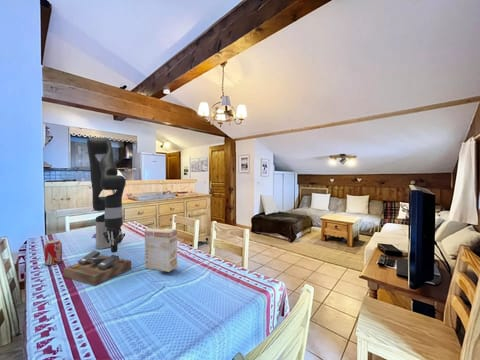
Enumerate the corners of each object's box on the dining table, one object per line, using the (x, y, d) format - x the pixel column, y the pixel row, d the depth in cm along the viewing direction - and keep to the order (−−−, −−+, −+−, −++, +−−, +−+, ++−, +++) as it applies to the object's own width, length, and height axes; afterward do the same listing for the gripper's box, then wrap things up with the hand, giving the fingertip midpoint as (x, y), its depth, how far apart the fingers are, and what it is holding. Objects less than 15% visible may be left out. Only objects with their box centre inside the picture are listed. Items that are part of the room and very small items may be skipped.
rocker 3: (113, 257, 103) (112, 254, 103) (119, 258, 102) (118, 255, 101) (97, 268, 96) (96, 265, 96) (104, 269, 95) (103, 266, 94)
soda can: (51, 266, 109) (51, 243, 109) (41, 265, 110) (40, 242, 110) (65, 261, 116) (65, 239, 115) (55, 260, 117) (54, 238, 117)
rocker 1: (94, 253, 109) (93, 250, 108) (100, 254, 107) (99, 251, 107) (79, 263, 102) (77, 261, 101) (84, 265, 100) (83, 262, 100)
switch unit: (102, 262, 114) (102, 253, 114) (131, 268, 106) (131, 258, 106) (63, 276, 98) (63, 266, 97) (94, 285, 89) (94, 274, 89)
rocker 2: (103, 260, 106) (104, 256, 106) (109, 261, 104) (109, 257, 104) (86, 261, 99) (87, 257, 99) (93, 263, 97) (93, 259, 97)
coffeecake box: (178, 266, 108) (177, 228, 108) (169, 272, 101) (168, 232, 101) (154, 262, 113) (154, 226, 113) (144, 268, 106) (144, 229, 106)
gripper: (130, 216, 102) (130, 251, 102) (111, 214, 107) (112, 248, 107) (115, 218, 95) (116, 256, 95) (96, 217, 100) (97, 253, 100)
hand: (114, 252), depth 101 cm, fingers closed
